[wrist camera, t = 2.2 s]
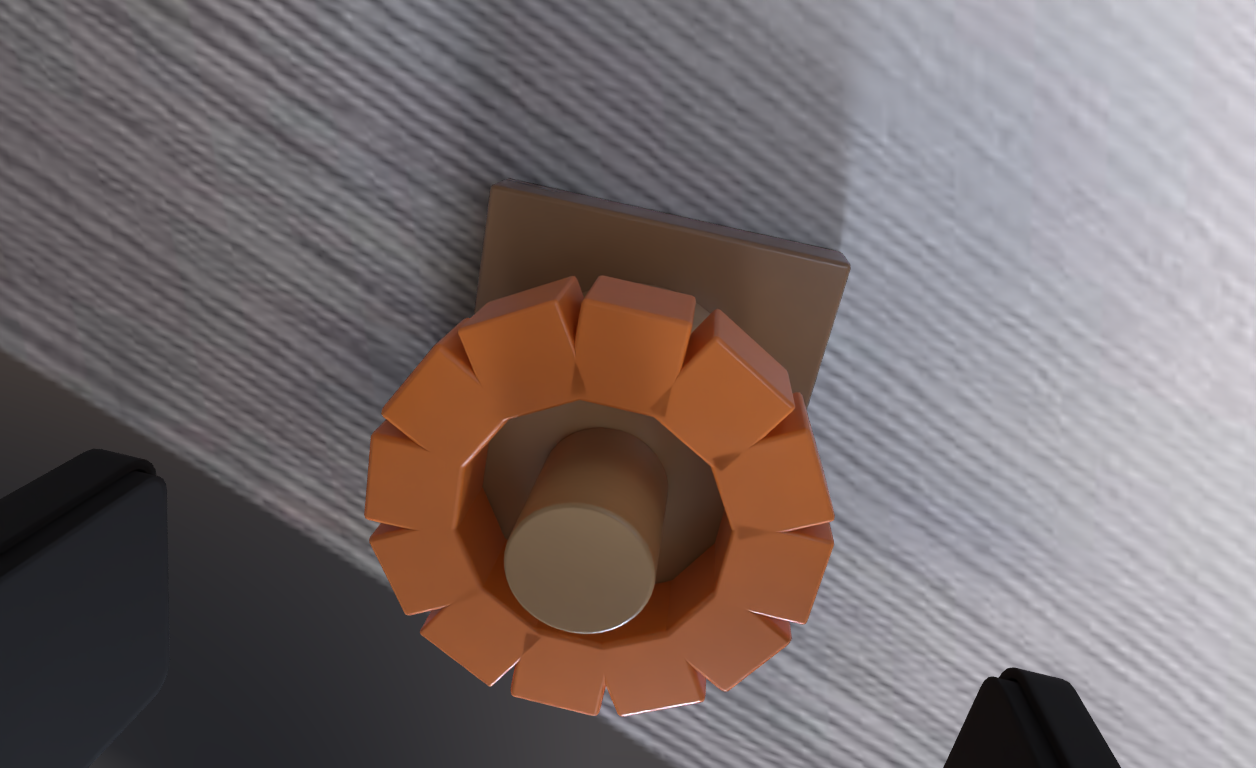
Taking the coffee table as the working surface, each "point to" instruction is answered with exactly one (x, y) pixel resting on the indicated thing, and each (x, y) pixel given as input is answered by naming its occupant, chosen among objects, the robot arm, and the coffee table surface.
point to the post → (622, 440)
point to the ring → (632, 381)
